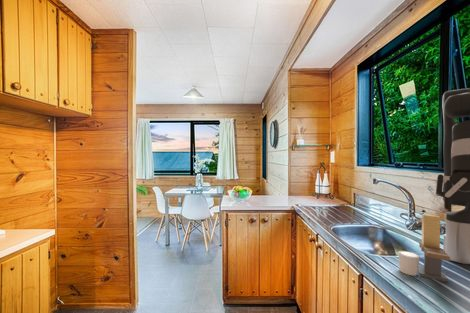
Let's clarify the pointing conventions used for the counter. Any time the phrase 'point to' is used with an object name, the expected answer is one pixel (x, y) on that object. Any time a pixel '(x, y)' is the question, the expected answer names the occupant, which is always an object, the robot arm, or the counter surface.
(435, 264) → the beam stand
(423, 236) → the block
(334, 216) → the counter surface
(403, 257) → the beige short cylinder
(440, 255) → the beam
